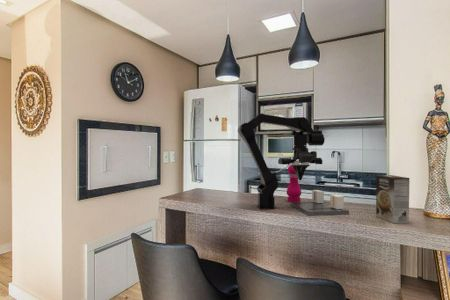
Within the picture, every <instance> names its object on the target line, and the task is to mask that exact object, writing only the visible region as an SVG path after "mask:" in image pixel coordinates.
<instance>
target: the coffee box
mask: <svg viewBox="0 0 450 300" xmlns="http://www.w3.org/2000/svg"><path fill="white" fill-rule="evenodd" d="M375 177H376V178H375V179H376V180H375V181H376V182H375V184H376V185H375V187H376V189H375V190H376V191H375V193H376V195H375V197H376V199H375V207H376V208H375V209H376V210H375V217H377V218H379V219H382V220H384V221H386V222H389V223H392V224H409V223H410V180H411V179H410V177H405V176H399V175H392V174H376V175H375Z"/></svg>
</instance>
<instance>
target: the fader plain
mask: <svg viewBox="0 0 450 300" xmlns="http://www.w3.org/2000/svg"><path fill="white" fill-rule="evenodd" d="M311 192H312V193H311V194H312V195H311V196H312V197H311V199H312V200H311V201H314V202H316V203H324V201H325V200H324V197H325V196H324V195H325V194H324V192H325V191H323V190H319V189H313V190H312V191H311Z"/></svg>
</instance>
